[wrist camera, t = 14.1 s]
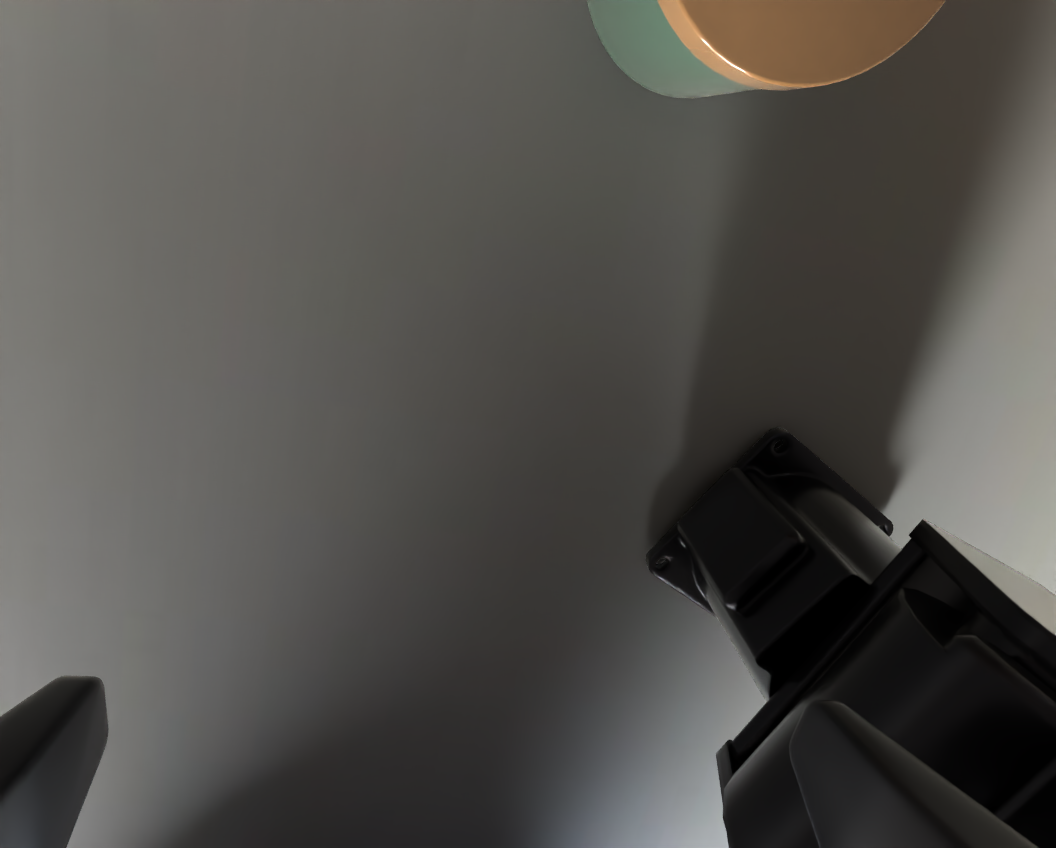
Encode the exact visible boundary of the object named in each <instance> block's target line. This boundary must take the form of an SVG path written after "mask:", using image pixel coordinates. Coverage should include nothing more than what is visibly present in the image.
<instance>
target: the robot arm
mask: <svg viewBox="0 0 1056 848" xmlns="http://www.w3.org/2000/svg"><path fill="white" fill-rule="evenodd" d="M779 440H783V443H782V444H781V446H779V447H778V448H775V449H774V445H775V444H776V442H778V441H779ZM878 526H879V527H878ZM892 532H893V524H892V522H891V521H890V520H889V519H888V518H886V517H885V516H884V515H883V514H882V513H881V512H880V511H878V510H877V509H876V508H875V507H874V506H873V505H872V504H870V503H869V502H868V501H867V500H866V499H865V498H864V497H862V496H861V495H860V494H859V493H858V492H857V491H856V490H854V489H853V488H852V487H851V486H850V485H849V484H848V483H846V482H845V481H844V480H843V479H842V478H841V477H840V476H838V475H837V474H836V473H835V472H834V471H833V470H832V469H830V468H829V467H828V466H827V465H826V464H825V463H824V462H823V461H821V460H820V459H819V458H818V457H817V456H816V455H815V454H813V453H812V452H811V451H810V450H809V449H808V448H807V447H805V446H804V445H803V444H802V443H801V442H800V441H799V440H797V439H796V438H795V437H794V436H793V435H792V434H790V433H789V432H788V431H787V430H785V429H783V428H774V429H771V430H769V431H768V432H767V433H765V434H764V435H763V436H762V437H761V438H760V439H759V440H758V442H757V443H756V444H755V445H754V446H753V447H752V448H751V449H750V450H749V451H748V452H747V453H746V454H745V455H744V456H743V457H742V458H741V459H740V460H739V461H738V462H737V463H736V464H735V465H734V466H733V467H732V468H731V469H730V470H728V471H727V472H726V473H725V474H724V475H723V476H722V477H721V478H720V479H719V480H718V481H717V482H716V483H715V484H714V485H713V486H712V487H711V488H710V489H709V490H708V491H707V492H706V493H705V494H704V495H703V496H702V497H701V498H700V499H699V500H698V501H697V502H696V503H695V504H694V505H693V506H692V507H691V508H690V509H689V510H688V511H687V512H686V513H685V514H684V515H683V516H682V517H681V518H680V519H679V521H678V522H677V523H676V524H675V525H674V526H673V527H672V528H671V529H670V530H669V531H668V532H667V533H666V534H665V535H664V536H663V537H662V538H661V540H660V541H659V542H658V543H657V544H656V545H655V546H654V547H653V548H652V549H651V550H650V551H649V552H648V553H647V555H646V559H645V560H646V564H647V566H648V568H649V570H650V572H651V573H652V574H653V575H654V576H656V577H657V578H659V579H660V580H662V581H663V582H665V583H666V584H668V585H669V586H671V587H672V588H674V589H675V590H677V591H678V592H680V593H681V594H683V595H684V596H686V597H687V598H689V599H690V600H692V601H693V602H694V603H696V604H697V605H699V606H700V607H702V608H703V609H705V610H706V611H708V612H709V613H711V614H712V615H714V616H715V617H717V618H718V620H719V621H720V623H721V625H722V627H723V628H724V630H725V632H726V633H727V635H728V637H729V639H730V640H731V642H732V644H733V645H734V647H735V649H736V651H737V652H738V654H739V656H740V657H741V659H742V661H743V663H744V664H745V666H746V668H747V669H748V671H749V673H750V675H751V676H752V678H753V680H754V681H755V683H756V685H757V687H758V688H759V690H760V692H761V693H762V695H763V697H764V699H765V700H766V704H765V705H764V706H763V707H762V708H761V709H760V710H759V711H758V713H757V714H756V715H755V716H754V717H753V718H752V719H751V721H750V722H749V723H748V724H747V725H746V726H745V727H744V728H743V730H742V731H741V732H740V733H739V734H738V735H737V736H736V737H735V739H734V740H728V741H727V742H726V743H725V744H724V745H723V746H722V747H721V749H720V750H719V751H718V752H717V753H716V758H717V766H718V773H719V780H720V787H721V794H722V802H723V820H724V824H725V827H726V831H727V838H728V845H729V848H1056V595H1055V594H1053V593H1052V592H1050V591H1049V590H1048V589H1046V588H1045V587H1043V586H1042V585H1040V584H1039V583H1037V582H1035V581H1034V580H1032V579H1030V578H1028V577H1027V576H1025V575H1023V574H1021V573H1020V572H1018V571H1016V570H1014V569H1012V568H1011V567H1009V566H1007V565H1005V564H1004V563H1002V562H1000V561H998V560H996V559H995V558H993V557H991V556H989V555H988V554H986V553H984V552H982V551H980V550H979V549H977V548H975V547H973V546H972V545H970V544H968V543H966V542H964V541H963V540H961V539H959V538H957V537H956V536H954V535H952V534H950V533H948V532H947V531H945V530H943V529H941V528H940V527H938V526H936V525H934V524H932V523H931V522H929V521H927V520H925V519H922V520H921V522H920V523H919V524H918V525H917V526H916V527H915V528H914V530H913V531H912V532H911V533H910V534H909V536H910V537H911V538H912V539H911V540H910V541H909V542H908V543H907V544H906V545H905V546H904V548H903V549H902V548H901V547H900V546H899V545H898V544H897V543H896V542H894V541H893V540H892V539H891V538H890V535H891V534H892ZM663 558H666V560H665V561H664V562H663V563H660V564H656V563H657V562H658V561H659V560H660V559H663ZM107 737H108V719H107V709H106V699H105V690H104V684H103V682H102V680H101V679H100V678H98V677H95V676H62V677H59V678H57V679H55V680H53V681H51V682H50V683H49V684H47V685H46V686H44V687H43V688H41V689H40V690H38V691H37V692H35V693H34V694H33V695H31V696H30V697H28V698H27V699H25V700H24V701H22V702H21V703H19V704H18V705H17V706H15V707H14V708H12V709H11V710H9V711H8V712H6V713H5V714H3V715H2V716H1V717H0V848H66V847H67V844H68V842H69V839H70V837H71V834H72V832H73V829H74V826H75V824H76V821H77V819H78V816H79V814H80V811H81V809H82V806H83V803H84V801H85V798H86V796H87V793H88V791H89V788H90V786H91V783H92V780H93V778H94V775H95V773H96V770H97V768H98V765H99V763H100V760H101V758H102V755H103V752H104V749H105V746H106V743H107Z"/></svg>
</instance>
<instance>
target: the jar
mask: <svg viewBox="0 0 1056 848" xmlns="http://www.w3.org/2000/svg"><path fill="white" fill-rule="evenodd" d="M945 1H946V0H587V3H588V8H589V12H590V15H591V18H592V22H593V25H594V27H595V30H596V32H597V34H598V37H599V39H600V41H601V42H602V44H603V46H604V48H605V49H606V51H607V53H608V54H609V55H610V57H611V58H612V59H613V61H614V62H615V63H616V65H617V66H618V67H619V68H620V69H621V70H622V71H623V72H624V73H625V74H626V75H627V76H629V77H630V78H631V79H633V80H634V81H635V82H637V83H638V84H639V85H641V86H643V87H645V88H647V89H649V90H651V91H653V92H656V93H659V94H662V95H664V96H669V97H675V98H691V99H692V98H701V97H708V96H715V95H722V94H728V93H735V92H742V91H749V90H756V89H765V90H793V89H801V88H809V87H817V86H824V85H829V84H833V83H836V82H840V81H844V80H847V79H849V78H852V77H854V76H856V75H859V74H861V73H863V72H866V71H868V70H869V69H871V68H873V67H874V66H876V65H878V64H880V63H881V62H883V61H885V60H886V59H888V58H889V57H890V56H892V55H893V54H894V53H896V52H897V51H898V50H900V49H901V48H902V47H904V46H905V45H906V44H907V43H908V42H909V41H910V40H911V39H912V38H913V37H914V36H915V35H916V34H918V33H919V32H920V31H921V30H922V29H923V28H924V27H925V26H926V24H927V23H928V22H929V21H930V20H931V19H932V17H933V16H934V15H935V14H936V13H937V12H938V10H939V9H940V8H941V7H942V5H943V4H944V2H945Z"/></svg>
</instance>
